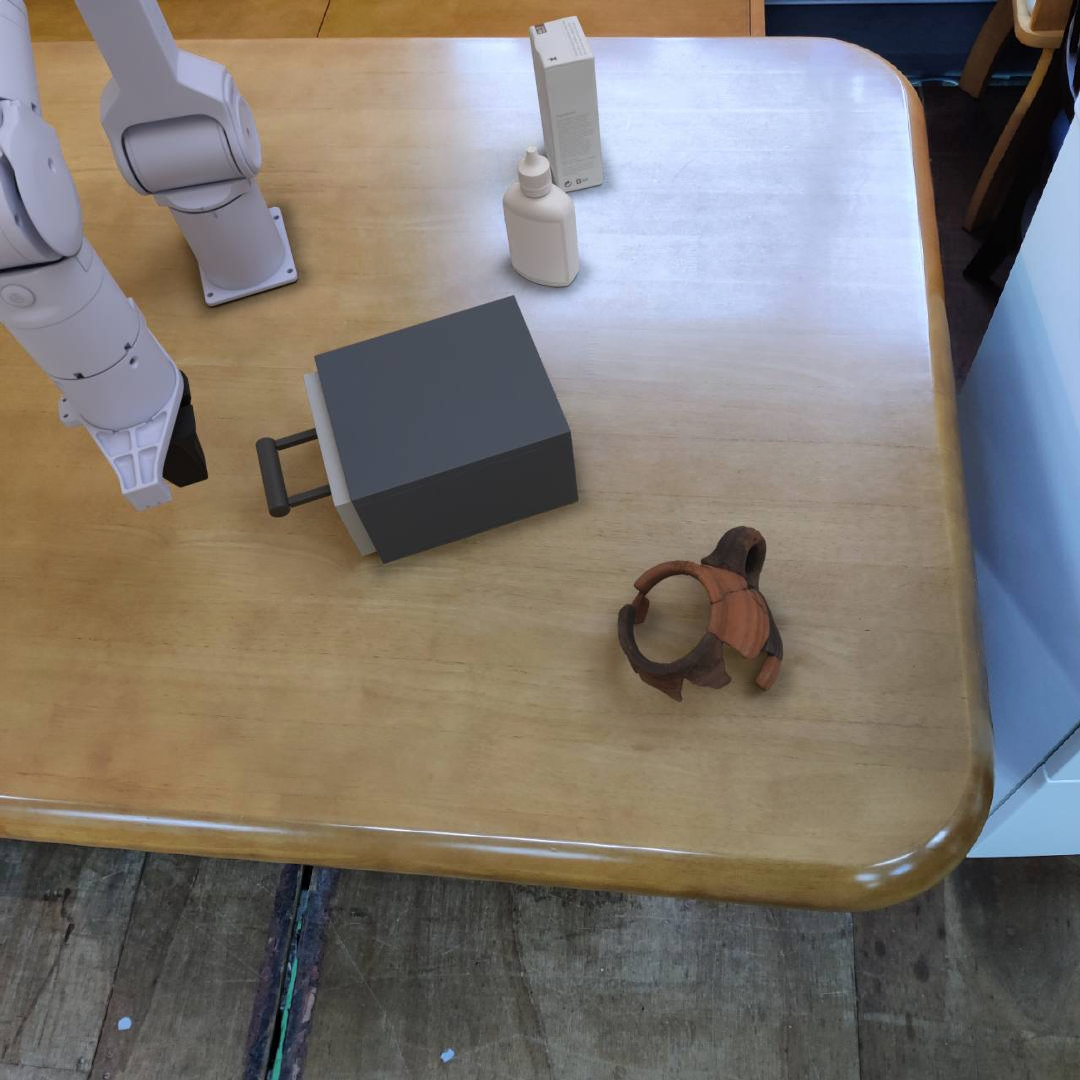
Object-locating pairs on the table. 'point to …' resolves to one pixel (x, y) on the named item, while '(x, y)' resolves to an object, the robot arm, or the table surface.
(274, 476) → the drawer
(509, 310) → the cabinet
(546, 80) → the cosmetic box
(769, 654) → the pottery mug
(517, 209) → the eye dropper bottle
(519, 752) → the table surface
